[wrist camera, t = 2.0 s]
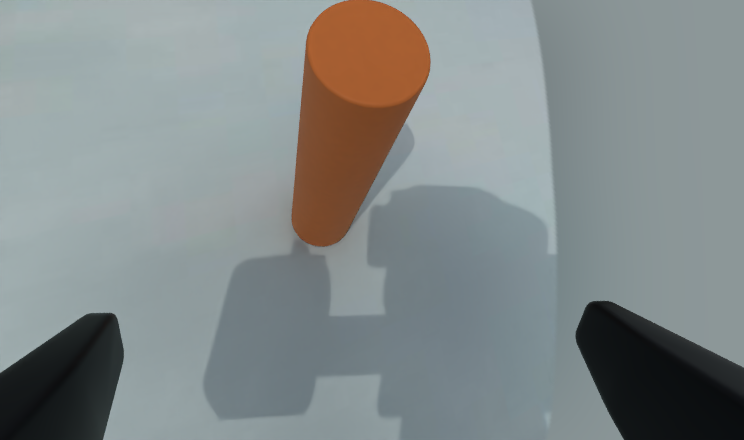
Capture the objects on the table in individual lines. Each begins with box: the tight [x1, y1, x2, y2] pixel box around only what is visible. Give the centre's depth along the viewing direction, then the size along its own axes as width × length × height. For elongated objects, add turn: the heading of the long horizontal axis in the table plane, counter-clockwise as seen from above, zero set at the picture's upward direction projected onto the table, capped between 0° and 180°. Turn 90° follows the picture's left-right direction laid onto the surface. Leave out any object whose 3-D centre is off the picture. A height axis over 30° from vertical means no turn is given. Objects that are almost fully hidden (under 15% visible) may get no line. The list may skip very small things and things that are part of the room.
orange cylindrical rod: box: [292, 0, 430, 246], centre depth 16 cm, size 3×3×12 cm
